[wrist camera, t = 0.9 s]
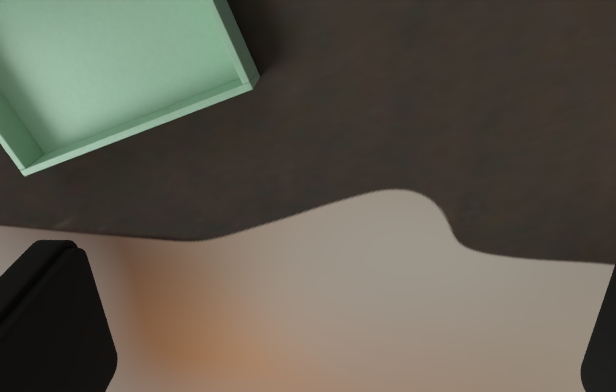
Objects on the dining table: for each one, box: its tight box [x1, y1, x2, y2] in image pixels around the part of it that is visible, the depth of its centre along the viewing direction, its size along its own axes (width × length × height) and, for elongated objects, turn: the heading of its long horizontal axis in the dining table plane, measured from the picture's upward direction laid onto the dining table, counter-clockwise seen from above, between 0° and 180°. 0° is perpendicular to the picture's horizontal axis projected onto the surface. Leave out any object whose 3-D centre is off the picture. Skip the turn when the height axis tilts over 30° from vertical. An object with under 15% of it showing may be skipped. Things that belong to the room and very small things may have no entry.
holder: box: [0, 0, 260, 176], centre depth 31 cm, size 11×18×3 cm, turn 112°
